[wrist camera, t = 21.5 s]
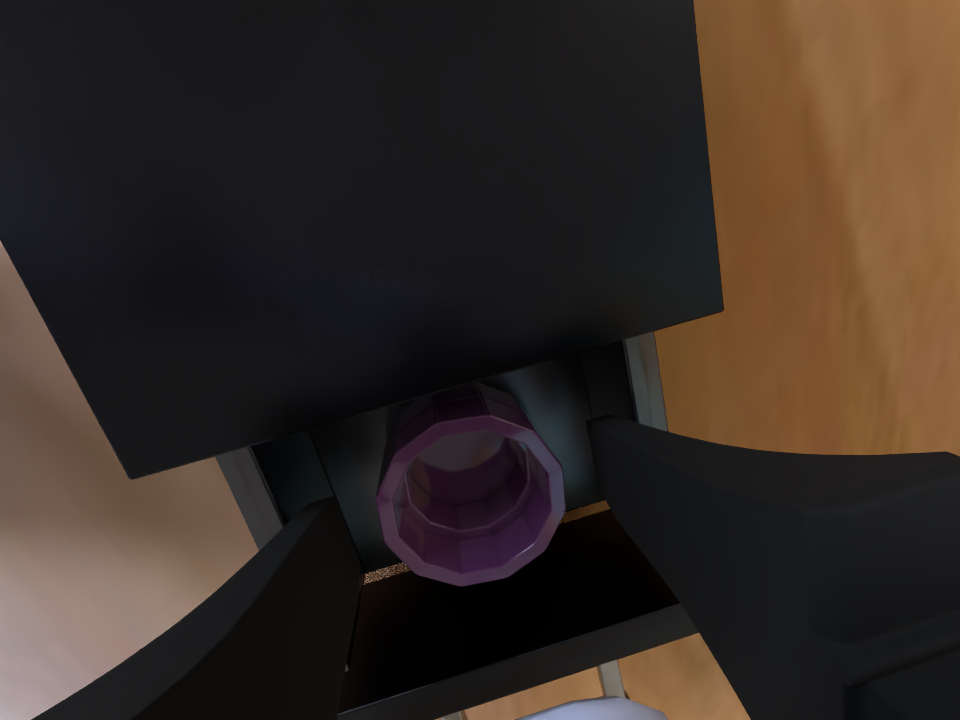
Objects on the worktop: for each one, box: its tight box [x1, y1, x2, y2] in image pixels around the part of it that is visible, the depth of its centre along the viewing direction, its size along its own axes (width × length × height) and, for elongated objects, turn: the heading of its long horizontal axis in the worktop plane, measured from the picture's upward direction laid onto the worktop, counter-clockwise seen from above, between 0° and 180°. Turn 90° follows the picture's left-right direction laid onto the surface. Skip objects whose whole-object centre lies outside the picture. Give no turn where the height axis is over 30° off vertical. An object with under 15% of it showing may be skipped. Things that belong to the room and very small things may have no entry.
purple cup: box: [376, 382, 566, 587], centre depth 12 cm, size 5×5×3 cm
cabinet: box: [0, 0, 724, 480], centre depth 10 cm, size 13×12×6 cm
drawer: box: [215, 331, 699, 720], centre depth 13 cm, size 17×11×5 cm, turn 15°
